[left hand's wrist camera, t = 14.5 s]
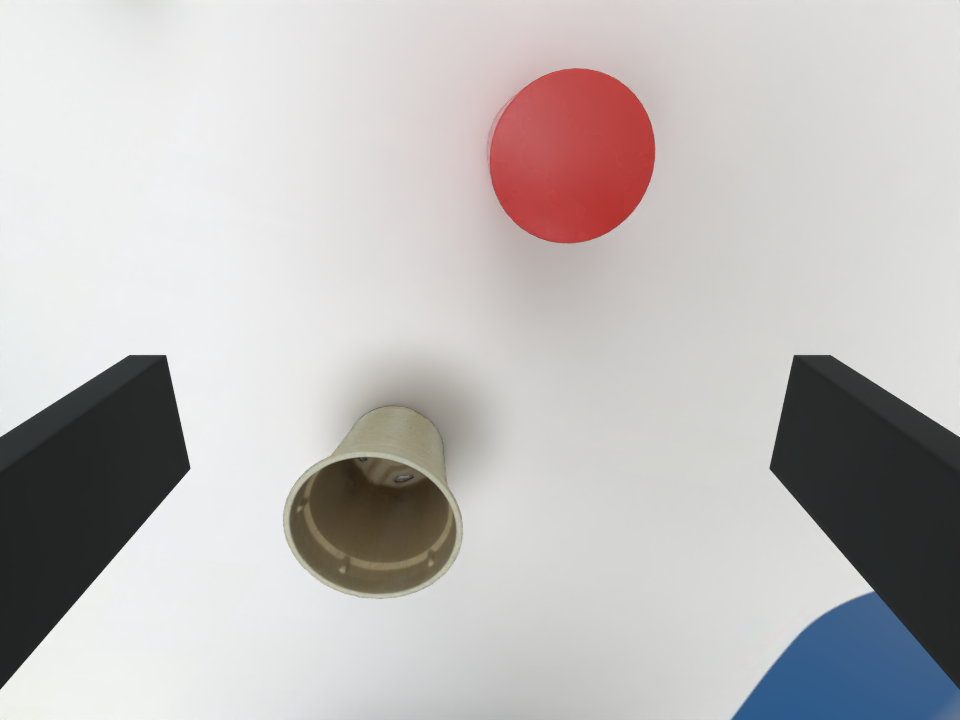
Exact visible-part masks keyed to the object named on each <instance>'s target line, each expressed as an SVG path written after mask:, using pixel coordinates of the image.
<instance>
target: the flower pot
mask: <svg viewBox="0 0 960 720" xmlns="http://www.w3.org/2000/svg"><path fill="white" fill-rule="evenodd" d="M359 457H366V458H367V460H365V461H362V460H361V459H360V458H359ZM407 475H413V477H412V478H410V479H408V480H404V481H395V478H396V477H397V476H407ZM283 526H284V533H285V537H286V540H287V543H288V545H289V547H290V549H291V551H292V553H293V554H294V556H295V557H296V559H297V560H298V562H299V563H300V564H301V565H302V566H303V567H304V568H305V569H306V570H307V571H309V572H310V574H311V575H312V576H314V577H315V578H316V579H317V580H319V581H320V582H321V583H323V584H325V585H327V586H329V587H331V588H333V589H335V590H337V591H340V592H343V593H345V594H349V595H354V596H357V597H362V598H376V599H383V598H394V597H399V596H404V595H408V594H411V593H415V592H417V591H419V590H422V589H424V588H425V587H428V586H430V585H431V584H433V583H434V582H435V581H436V580H438V579H439V578H440V577H441V576H443V575H444V574H445V573H446V571H448V569H449V568H450V567H451V565H452V564H453V563H454V561H455V559H456V557H457V555H458V553H459V550H460V546H461V542H462V535H463V527H462V517H461V513H460V510H459V507H458V504H457V502H456V500H455V498H454V496H453V494H452V493H451V491H450V490H449V488H448V486H447V479H446V472H445V463H444V453H443V443H442V439H441V436H440V434H439V432H438V430H437V429H436V427H435V426H434V424H433V423H432V422H431V421H430V420H428V419H426V418H425V417H423V416H422V415H420V414H418V413H417V412H415V411H413V410H411V409H409V408H406V407H398V406H388V407H381V408H378V409H375V410H373V411H370V412H368V413H367V414H365V415H364V416H362V417H361V418H360V419H359V420H358V421H357V422H356V424H355V425H354V426H353V428H352V429H351V431H350V432H349V433H348V435H347V436H346V437H345V439H344V440H343V441H342V442H341V444H340V445H339V446H338V448H337V449H336V450H335V451H334V452H333V454H332V455H331V456H329V457H327V458H325V459H323V460H321V461H319V462H318V463H316V464H314V465H313V466H312V467H310V468H309V469H308V470H307V471H306V472H305V473H304V474H303V475H302V476H301V477H300V478H299V479H298V480H297V481H296V483H295V484H294V486H293V488H292V489H291V491H290V493H289V495H288V497H287V500H286V503H285V507H284V513H283Z"/></svg>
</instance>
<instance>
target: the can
mask: <svg viewBox="0 0 960 720" xmlns="http://www.w3.org/2000/svg"><path fill="white" fill-rule="evenodd" d="M487 157H488V164H489V169H490V174H491V179H492V184H493V187H494V190H495V193H496V196H497V198H498V200H499V202H500V204H501V206H502V207H503V209H504V210H505V212H506V213H507V214H508V215H509V217H510V218H511V219H512V220H513V221H514V222H515V223H516V224H517V225H518V226H520V227H521V228H522V229H524V230H525V231H527V232H528V233H530V234H532V235H534V236H536V237H538V238H541V239H544V240H547V241H551V242H556V243H579V242H584V241H588V240H592V239H594V238H597V237H600V236H602V235H604V234H606V233H608V232H610V231H611V230H613V229H614V228H616V227H617V226H618V225H620V224H621V223H622V222H623V221H624V220H625V219H626V218H627V217H628V216H629V215H630V214H631V213H632V212H633V211H634V209H635V208H636V207H637V205H638V204H639V203H640V201H641V199H642V197H643V196H644V194H645V192H646V190H647V187H648V185H649V182H650V179H651V176H652V172H653V167H654V161H655V142H654V134H653V130H652V125H651V123H650V120H649V117H648V115H647V113H646V111H645V109H644V107H643V105H642V104H641V102H640V101H639V100H638V98H637V97H636V95H635V94H634V93H633V92H632V91H631V90H630V89H629V88H628V87H626V86H625V85H624V84H622V83H621V82H620V81H618V80H617V79H615V78H613V77H611V76H609V75H607V74H604V73H601V72H599V71H594V70H589V69H576V68H575V69H565V70H560V71H556V72H552V73H550V74H547V75H545V76H542V77H540V78H539V79H537V80H535V81H533V82H532V83H530V84H529V85H528V86H526V87H525V88H524V89H522V90H521V91H520V92H519V93H518V94H517V95H515V96H514V97H513V98H512V99H511V100H510V101H509V102H508V103H507V104H506V105H505V106H504V107H503V108H502V109H501V110H500V112H499V113H498V115H497V116H496V118H495V120H494V122H493V124H492V127H491V130H490V133H489V137H488V143H487Z"/></svg>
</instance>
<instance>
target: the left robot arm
mask: <svg viewBox="0 0 960 720" xmlns="http://www.w3.org/2000/svg"><path fill="white" fill-rule="evenodd" d="M189 470H190V464H189V459H188V455H187V450H186V445H185V441H184V436H183V432H182V427H181V422H180V418H179V413H178V408H177V404H176V399H175V394H174V390H173V385H172V380H171V376H170V371H169V367H168V362H167V357H166V355H129V356H127V357H126V358H124V359H123V360H121V361H120V362H118V363H116V364H115V365H113V366H112V367H110V368H109V369H107V370H105V371H104V372H102V373H101V374H99V375H97V376H96V377H94V378H93V379H91V380H90V381H88V382H86V383H85V384H83V385H82V386H80V387H79V388H77V389H75V390H74V391H72V392H71V393H69V394H68V395H66V396H64V397H63V398H61V399H60V400H58V401H57V402H55V403H53V404H52V405H50V406H49V407H47V408H46V409H44V410H42V411H41V412H39V413H38V414H36V415H35V416H33V417H31V418H30V419H28V420H27V421H25V422H24V423H22V424H20V425H19V426H17V427H16V428H14V429H13V430H11V431H9V432H8V433H6V434H5V435H3V436H1V437H0V689H1V688H2V687H3V686H4V685H5V684H6V682H7V681H8V680H9V679H10V678H11V677H12V675H13V674H14V673H15V672H16V671H17V670H18V668H19V667H20V666H21V665H22V664H23V663H24V661H25V660H26V659H27V658H28V657H29V656H30V655H31V653H32V652H33V651H34V650H35V649H36V648H37V646H38V645H39V644H40V643H41V642H42V641H43V639H44V638H45V637H46V636H47V635H48V634H49V632H50V631H51V630H52V629H53V628H54V627H55V625H56V624H57V623H58V622H59V621H60V620H61V618H62V617H63V616H64V615H65V614H66V613H67V612H68V610H69V609H70V608H71V607H72V606H73V605H74V603H75V602H76V601H77V600H78V599H79V598H80V596H81V595H82V594H83V593H84V592H85V591H86V589H87V588H88V587H89V586H90V585H91V584H92V582H93V581H94V580H95V579H96V578H97V577H98V576H99V574H100V573H101V572H102V571H103V570H104V569H105V567H106V566H107V565H108V564H109V563H110V562H111V560H112V559H113V558H114V557H115V556H116V555H117V553H118V552H119V551H120V550H121V549H122V548H123V546H124V545H125V544H126V543H127V542H128V541H129V540H130V538H131V537H132V536H133V535H134V534H135V533H136V531H137V530H138V529H139V528H140V527H141V526H142V524H143V523H144V522H145V521H146V520H147V519H148V517H149V516H150V515H151V514H152V513H153V512H154V510H155V509H156V508H157V507H158V506H159V505H160V504H161V502H162V501H163V500H164V499H165V498H166V497H167V495H168V494H169V493H170V492H171V491H172V490H173V488H174V487H175V486H176V485H177V484H178V483H179V481H180V480H181V479H182V478H183V477H184V476H185V474H186V473H187V472H188V471H189ZM770 470H771V471H772V472H773V473H774V474H775V476H776V477H777V478H778V479H779V480H780V481H781V483H782V484H783V485H784V486H785V487H786V488H787V490H788V491H789V492H790V493H791V494H792V495H793V497H794V498H795V499H796V500H797V501H798V502H799V504H800V505H801V506H802V507H803V508H804V509H805V510H806V512H807V513H808V514H809V515H810V516H811V517H812V519H813V520H814V521H815V522H816V523H817V524H818V526H819V527H820V528H821V529H822V530H823V531H824V533H825V534H826V535H827V536H828V537H829V538H830V540H831V541H832V542H833V543H834V544H835V545H836V546H837V548H838V549H839V550H840V551H841V552H842V553H843V555H844V556H845V557H846V558H847V559H848V560H849V562H850V563H851V564H852V565H853V566H854V567H855V569H856V570H857V571H858V572H859V573H860V574H861V576H862V577H863V578H864V579H865V580H866V581H867V582H868V584H869V585H870V586H871V587H872V588H873V589H874V591H875V592H876V593H877V594H878V595H879V596H880V598H881V599H882V600H883V601H884V602H885V603H886V605H887V606H888V607H889V608H890V609H891V610H892V611H893V613H894V614H895V615H896V616H897V617H898V619H899V620H900V621H901V622H902V623H903V624H904V625H905V627H906V628H907V629H908V630H909V631H910V632H911V634H912V635H913V636H914V637H915V638H916V639H917V641H918V642H919V643H920V644H921V645H922V646H923V648H924V649H925V650H926V651H927V652H928V653H929V654H930V656H931V657H932V658H933V659H934V660H935V661H936V663H937V664H938V665H939V666H940V667H941V668H942V670H943V671H944V672H945V673H946V674H947V675H948V677H949V678H950V679H951V680H952V681H953V682H954V684H955V685H956V686H957V687H958V688H959V689H960V437H959V436H957V435H955V434H954V433H952V432H951V431H949V430H947V429H946V428H944V427H943V426H941V425H940V424H938V423H936V422H935V421H933V420H932V419H930V418H929V417H927V416H925V415H924V414H922V413H921V412H919V411H918V410H916V409H914V408H913V407H911V406H910V405H908V404H907V403H905V402H903V401H902V400H900V399H899V398H897V397H896V396H894V395H892V394H891V393H889V392H888V391H886V390H885V389H883V388H881V387H880V386H878V385H877V384H875V383H874V382H872V381H870V380H869V379H867V378H866V377H864V376H863V375H861V374H859V373H858V372H856V371H855V370H853V369H851V368H850V367H848V366H847V365H845V364H844V363H842V362H840V361H839V360H837V359H836V358H834V357H833V356H831V355H794V357H793V362H792V367H791V371H790V376H789V380H788V385H787V390H786V394H785V399H784V404H783V408H782V413H781V418H780V422H779V427H778V431H777V436H776V441H775V445H774V450H773V455H772V459H771V464H770Z"/></svg>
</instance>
